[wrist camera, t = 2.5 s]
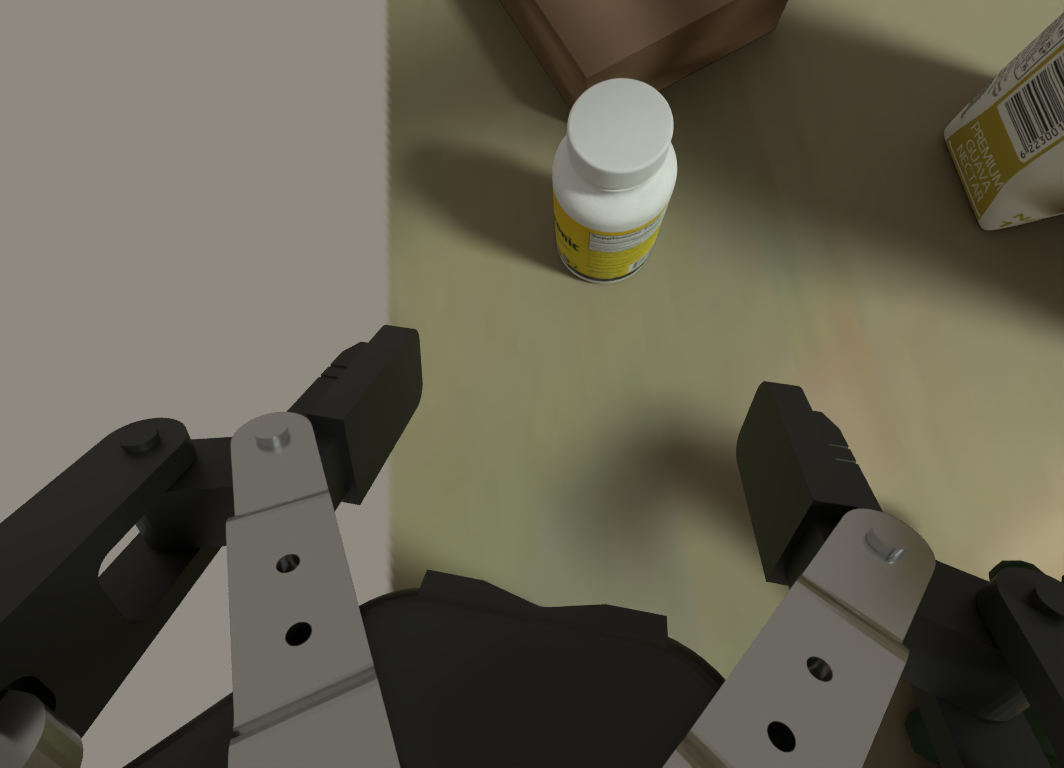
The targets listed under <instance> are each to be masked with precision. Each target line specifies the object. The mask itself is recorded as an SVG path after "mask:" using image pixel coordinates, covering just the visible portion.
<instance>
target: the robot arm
mask: <svg viewBox="0 0 1064 768" xmlns="http://www.w3.org/2000/svg"><path fill="white" fill-rule="evenodd" d="M422 385H423V383H422V368H421V354H420V340H419V334H418V332H417V330H416V329H410V328H404V327H397V326H390V325H384V326H383V327H382V328H381V329H380V330H379V331H378V332H377V333H376V335H375V336H374V337H373V338H372V339H371V340H370V341H369V343H366V342H360V343H358V344H356V345H354V346H352V347H350V348H348V349H346V350H345V351H343V352H342V353H341V354H340V355H339V356H338V357H337V358H336V359H335V360H334V361H333V362H332V363H331V366H330V367H328V368H327V369H326V370H325V371H324V372H323V373H322V374H321V378H320V377H318V378H317V380H316V381H315V382H314V383H313V384H312V385H311V386H310V387H309V388H308V389H307V390H306V391H305V393H304V394H303V395H302V396H301V397H300V398H299V399H298V400H297V401H296V402H295V403H294V404H293V406H292V407H291V408H290V409H289V410H288V411H287V412H277V413H270V414H266V415H263V416H260V417H257V418H255V419H253V420H251V421H249V422H247V423H246V424H244V425H243V426H242V427H240V428H239V429H238V430H237V431H236V432H235V434H234V436H233V437H224V438H209V439H193V440H191V438H190V436H189V434H188V432H187V429H186V427H185V426H184V425H183V423H181V422H180V421H177V420H175V419H170V418H152V419H146V420H141V421H137V422H134V423H131V424H129V425H126V426H124V427H121V428H119V429H118V430H116V431H114V432H112V433H111V434H109V435H108V436H106V437H105V438H104V439H103V440H101V441H100V442H99V443H98V444H97V445H95V446H94V447H93V448H92V449H91V450H89V451H88V452H87V453H86V454H85V455H83V456H82V457H81V458H79V459H78V460H77V461H76V462H75V463H74V464H72V465H71V466H70V467H69V468H67V469H66V470H65V471H64V472H62V473H61V474H60V475H59V476H58V477H56V478H55V479H54V480H53V481H51V482H50V483H49V484H48V485H47V486H45V487H44V488H43V489H42V490H41V491H39V492H38V493H37V494H36V495H35V496H33V497H32V498H31V499H29V500H28V501H27V502H26V503H25V504H23V505H22V506H21V507H20V508H19V509H17V510H16V511H15V512H14V513H12V514H11V515H10V516H9V517H8V518H6V519H5V520H4V521H3V522H1V523H0V768H80V766H81V762H82V758H83V744H82V740H81V738H82V737H83V736H84V734H85V733H86V731H87V730H88V729H89V727H90V726H91V725H92V723H93V722H94V720H95V719H96V718H97V716H98V715H99V714H100V712H101V711H102V710H103V708H104V707H105V705H106V704H107V703H108V701H109V700H110V699H111V697H112V696H113V695H114V693H115V692H116V690H117V689H118V688H119V686H120V685H121V684H122V682H123V681H124V680H125V678H126V677H127V675H128V674H129V673H130V671H131V670H132V669H133V667H134V666H135V664H136V663H137V662H138V660H139V659H140V658H141V656H142V655H143V653H144V652H145V651H146V649H147V648H148V647H149V645H150V644H151V643H152V641H153V640H154V639H155V637H156V635H157V634H158V633H159V631H160V630H161V629H162V628H163V626H164V625H165V623H166V622H167V621H168V619H169V618H170V617H171V615H172V614H173V613H174V611H175V610H176V608H177V607H178V606H179V604H180V603H181V601H182V600H183V599H184V597H185V596H186V595H187V593H188V592H189V591H190V589H191V588H192V586H193V585H194V584H195V582H196V581H197V580H198V578H199V577H200V576H201V574H202V573H203V572H204V570H205V569H206V567H207V566H208V565H209V563H210V562H211V561H212V559H213V558H214V556H215V555H216V554H217V552H218V551H219V550H220V548H221V547H222V546H227V564H228V587H229V610H230V611H229V612H230V635H231V658H232V681H233V692H232V693H230V694H229V695H228V696H226V697H224V698H223V699H222V700H220V701H219V702H217V703H216V704H214V705H213V706H212V707H210V708H208V709H207V710H206V711H204V712H203V713H201V714H200V715H198V716H197V717H196V718H194V719H192V720H191V721H190V722H188V723H187V724H185V725H184V726H182V727H181V728H179V729H178V730H176V731H175V732H174V733H172V734H171V735H169V736H168V737H166V738H165V739H163V740H162V741H161V742H159V743H158V744H156V745H155V746H153V747H152V748H150V749H149V750H147V751H146V752H145V753H143V754H142V755H140V756H139V757H137V758H136V759H135V760H133V761H132V762H130V763H128V764H127V765H126V766H124V767H123V768H862V766H863V764H864V761H865V759H866V757H867V754H868V752H869V750H870V747H871V745H872V742H873V740H874V738H875V735H876V733H877V731H878V728H879V726H880V723H881V721H882V719H883V716H884V714H885V712H886V709H887V707H888V704H889V702H890V700H891V697H892V695H893V693H894V690H895V688H896V685H897V683H898V681H899V678H900V679H902V680H904V681H906V682H908V683H910V685H911V688H912V691H913V693H914V696H915V699H916V701H917V704H918V707H919V709H920V712H921V715H922V718H923V720H924V723H925V726H926V728H927V731H928V734H929V737H930V739H931V742H932V745H933V747H934V750H935V753H936V756H937V758H938V761H939V764H940V766H941V768H1051V766H1050V764H1049V762H1048V760H1047V758H1046V756H1045V754H1044V752H1043V751H1042V749H1041V747H1040V745H1039V743H1038V741H1037V739H1036V737H1035V735H1034V733H1033V731H1032V729H1031V728H1030V726H1029V724H1028V722H1027V720H1026V718H1025V716H1024V714H1023V712H1022V711H1023V710H1025V709H1026V708H1028V707H1029V706H1031V708H1032V710H1033V712H1034V714H1035V715H1036V717H1037V719H1038V721H1039V723H1040V725H1041V727H1042V728H1043V730H1044V732H1045V734H1046V736H1047V738H1048V740H1049V741H1050V743H1051V745H1052V747H1053V749H1054V751H1055V754H1056V757H1057V761H1058V766H1059V768H1064V584H1063V583H1062V582H1060V581H1058V580H1056V579H1054V578H1052V577H1050V576H1048V575H1045V574H1043V573H1040V572H1038V571H1035V570H1031V569H1027V568H1021V567H1009V568H1005V569H1003V570H1001V571H1000V572H999V573H998V574H997V575H996V576H995V577H994V578H993V579H992V580H991V581H990V582H989V581H986V580H984V579H981V578H979V577H976V576H974V575H971V574H969V573H966V572H964V571H961V570H959V569H956V568H954V567H951V566H949V565H946V564H944V563H941V562H939V561H937V560H935V557H934V554H933V552H932V550H931V548H930V546H929V545H928V544H927V542H926V541H925V540H924V539H923V538H922V537H921V536H920V535H919V534H918V533H917V532H916V531H915V530H914V529H912V528H911V527H910V526H908V525H907V524H905V523H904V522H902V521H900V520H899V519H897V518H895V517H893V516H891V515H888V514H886V513H883V511H882V509H881V507H880V505H879V503H878V502H877V500H876V498H875V496H874V494H873V492H872V490H871V488H870V486H869V484H868V482H867V481H866V479H865V477H864V475H863V473H862V471H861V469H860V467H859V465H858V464H856V463H855V462H856V460H855V458H854V456H853V454H852V452H851V450H850V449H848V444H847V442H846V440H845V439H844V437H843V435H842V433H841V431H840V429H839V428H838V427H837V426H836V425H835V424H834V423H833V422H832V421H831V420H829V419H828V418H827V417H826V416H825V415H824V414H823V413H822V412H818V411H812V409H811V406H810V404H809V402H808V400H807V398H806V396H805V394H804V392H803V390H802V388H801V387H799V386H794V385H787V384H780V383H773V382H766V381H764V382H762V383H761V384H760V385H759V387H758V389H757V391H756V394H755V396H754V399H753V401H752V403H751V406H750V408H749V411H748V413H747V416H746V418H745V421H744V423H743V426H742V428H741V430H740V433H739V436H738V440H737V447H736V458H737V463H738V467H739V471H740V475H741V479H742V484H743V488H744V492H745V496H746V500H747V504H748V508H749V512H750V517H751V521H752V525H753V529H754V533H755V537H756V541H757V545H758V550H759V554H760V558H761V562H762V566H763V570H764V574H765V578H766V582H772V583H777V584H783V585H788V586H789V589H790V590H789V592H788V593H787V595H786V596H785V597H784V599H783V600H782V602H781V603H780V604H779V606H778V607H777V609H776V610H775V611H774V613H773V614H772V616H771V617H770V619H769V620H768V621H767V623H766V624H765V626H764V627H763V628H762V630H761V631H760V633H759V634H758V635H757V637H756V638H755V640H754V641H753V642H752V644H751V645H750V647H749V648H748V650H747V651H746V652H745V654H744V655H743V657H742V658H741V659H740V661H739V662H738V664H737V665H736V666H735V668H734V669H733V671H732V672H731V673H730V675H729V676H728V678H727V679H726V680H725V679H724V678H723V677H722V676H721V675H720V673H719V672H718V671H717V670H715V669H714V668H713V667H712V666H711V665H710V664H709V663H708V662H707V661H705V660H704V659H703V658H702V657H700V656H699V655H698V654H696V653H695V652H694V651H692V650H691V649H689V648H688V647H686V646H684V645H683V644H681V643H679V642H678V641H676V640H674V639H672V638H669V637H668V631H667V616H663V615H658V614H653V613H648V612H643V611H638V610H633V609H627V608H622V607H617V606H612V605H607V604H602V605H583V606H563V607H541V606H537V605H535V604H533V603H531V602H529V601H526V600H524V599H522V598H520V597H518V596H516V595H514V594H511V593H509V592H507V591H505V590H503V589H501V588H499V587H496V586H494V585H492V584H490V583H488V582H486V581H483V580H478V579H473V578H468V577H463V576H458V575H452V574H447V573H442V572H437V571H432V570H427V571H426V574H425V576H424V579H423V582H422V584H421V587H420V588H411V589H405V590H399V591H395V592H392V593H388V594H385V595H382V596H379V597H377V598H374V599H372V600H370V601H368V602H366V603H364V604H362V605H360V606H358V602H357V598H356V594H355V590H354V586H353V583H352V579H351V575H350V571H349V567H348V563H347V559H346V555H345V552H344V547H343V543H342V539H341V536H340V532H339V528H338V524H337V520H336V516H335V510H336V509H337V507H338V506H339V504H340V502H346V503H351V504H357V505H360V504H361V503H362V501H363V499H364V497H365V496H366V494H367V492H368V491H369V489H370V487H371V486H372V484H373V482H374V480H375V479H376V477H377V475H378V474H379V472H380V470H381V468H382V467H383V465H384V463H385V462H386V460H387V458H388V457H389V455H390V453H391V451H392V450H393V448H394V446H395V445H396V443H397V441H398V439H399V438H400V436H401V434H402V433H403V431H404V429H405V428H406V426H407V424H408V422H409V421H410V419H411V417H412V416H413V414H414V412H415V410H416V409H417V407H418V405H419V402H420V399H421V394H422ZM134 525H136V526H137V528H138V529H139V531H140V533H139V534H138V535H137V536H136V537H135V538H134V539H133V540H132V541H131V543H130V544H129V545H128V546H127V547H126V548H125V549H124V550H123V551H122V552H121V553H120V555H119V556H118V557H117V558H116V559H115V560H114V561H113V562H112V563H111V564H110V565H109V567H108V568H107V569H106V570H105V571H104V572H103V573H102V574H101V575H100V576H99V577H98V572H99V569H100V566H101V563H102V561H103V559H104V558H105V556H106V555H107V554H108V553H109V551H110V550H111V549H112V548H113V547H114V546H115V545H116V544H117V543H118V542H119V541H120V540H121V539H122V538H123V537H124V535H125V534H126V533H127V532H128V531H129V530H130V529H131V528H132V527H133V526H134Z"/></svg>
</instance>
